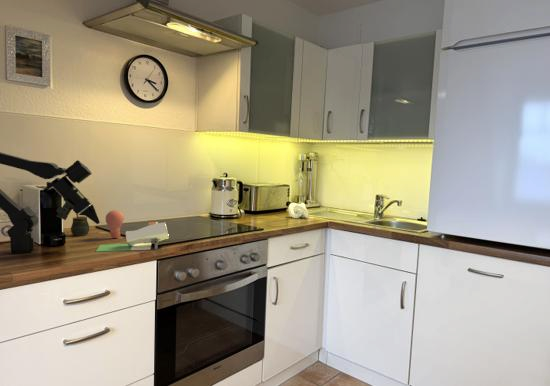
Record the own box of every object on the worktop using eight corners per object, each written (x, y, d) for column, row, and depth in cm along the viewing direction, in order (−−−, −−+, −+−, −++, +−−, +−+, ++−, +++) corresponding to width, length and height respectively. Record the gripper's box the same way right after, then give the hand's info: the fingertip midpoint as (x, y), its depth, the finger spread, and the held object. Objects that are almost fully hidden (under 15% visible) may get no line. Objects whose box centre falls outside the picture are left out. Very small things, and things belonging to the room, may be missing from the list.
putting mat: (95, 251, 140) (95, 227, 139) (100, 245, 149) (99, 222, 148) (157, 249, 146) (157, 225, 145) (157, 243, 155) (157, 221, 154)
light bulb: (103, 237, 163) (102, 210, 162) (119, 235, 168) (119, 208, 167) (109, 240, 158) (109, 211, 157) (126, 238, 163) (126, 210, 162)
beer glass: (124, 227, 146) (164, 218, 149) (128, 234, 152) (166, 226, 155) (126, 243, 142) (167, 234, 146) (130, 250, 148) (169, 241, 152)
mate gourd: (90, 233, 173) (89, 211, 172) (88, 236, 166) (88, 213, 165) (72, 234, 170) (71, 211, 169) (69, 237, 163) (69, 214, 162)
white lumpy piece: (312, 217, 235) (313, 203, 234) (300, 219, 226) (301, 204, 225) (297, 215, 242) (298, 201, 241) (285, 217, 233) (286, 203, 232)
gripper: (51, 206, 145) (80, 236, 149) (46, 205, 129) (79, 239, 133) (76, 187, 149) (104, 217, 153) (75, 184, 133) (106, 218, 137)
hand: (98, 223), depth 144 cm, fingers closed
